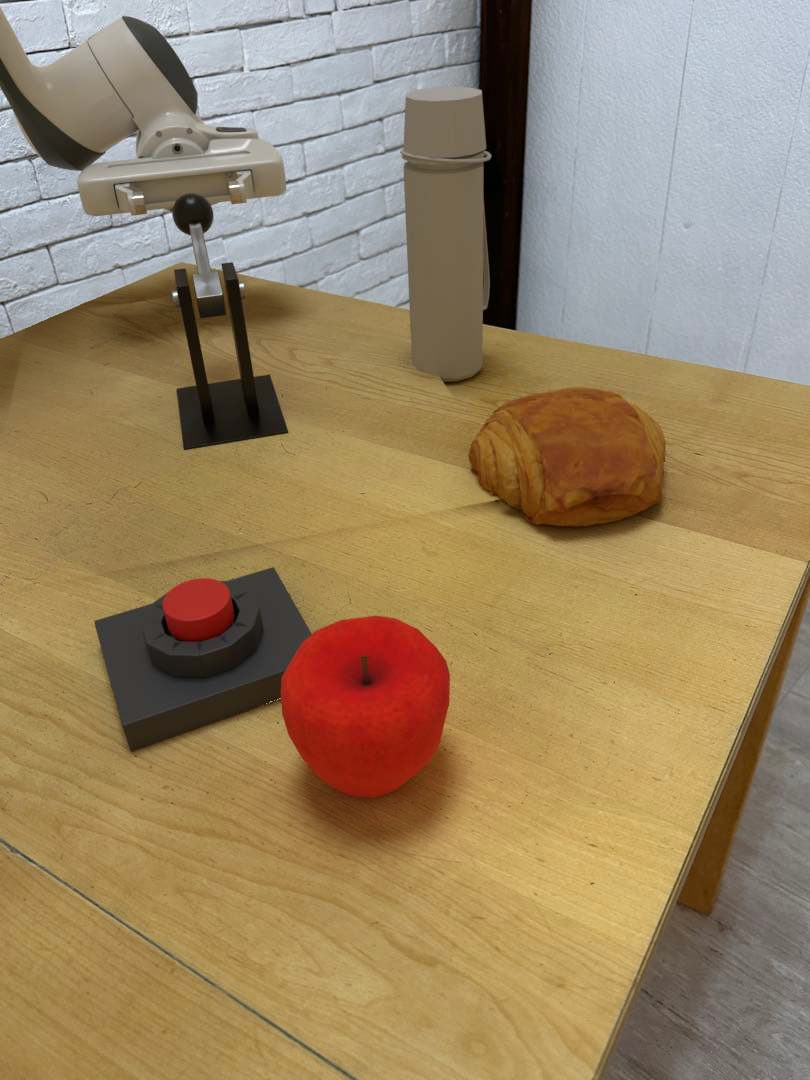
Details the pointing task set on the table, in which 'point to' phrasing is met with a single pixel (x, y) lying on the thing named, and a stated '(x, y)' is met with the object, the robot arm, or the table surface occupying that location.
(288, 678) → the apple
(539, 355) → the table surface
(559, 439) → the croissant
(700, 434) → the table surface
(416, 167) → the water bottle
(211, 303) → the lever
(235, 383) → the bracket
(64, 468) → the table surface
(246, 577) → the button box
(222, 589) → the button
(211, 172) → the robot arm
